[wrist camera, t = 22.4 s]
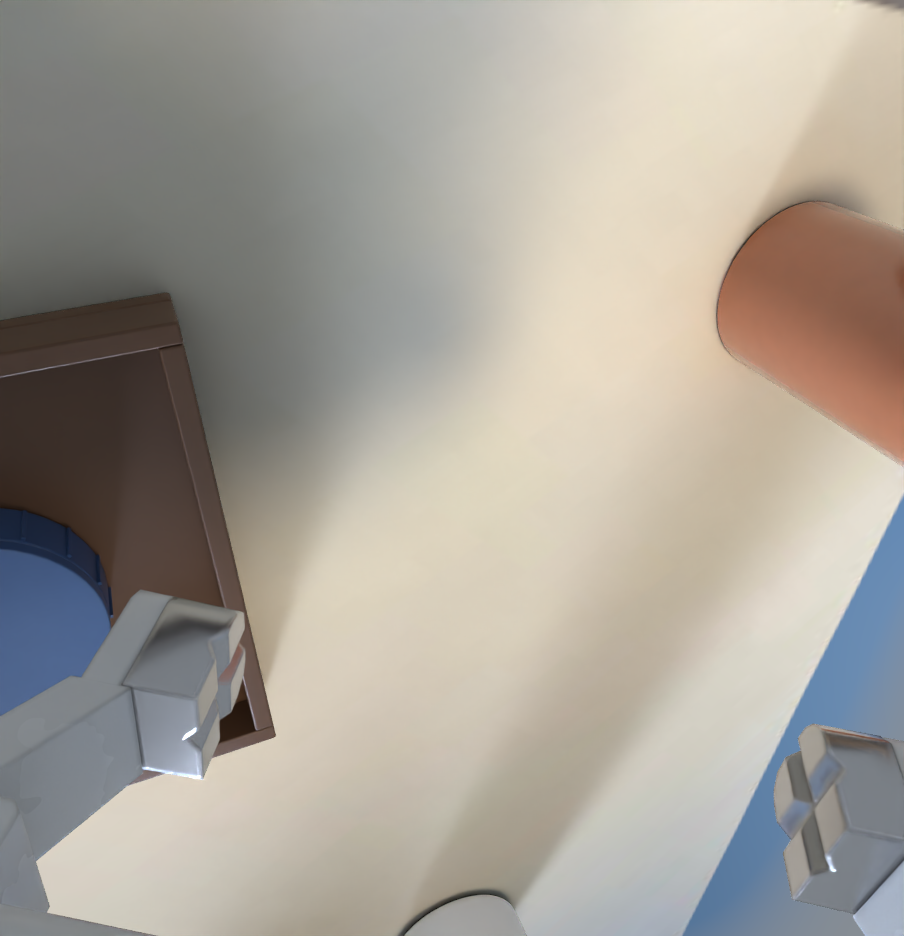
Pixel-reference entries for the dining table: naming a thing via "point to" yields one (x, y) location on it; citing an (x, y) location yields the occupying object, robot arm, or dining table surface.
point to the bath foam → (471, 919)
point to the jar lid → (47, 606)
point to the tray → (124, 464)
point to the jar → (824, 316)
